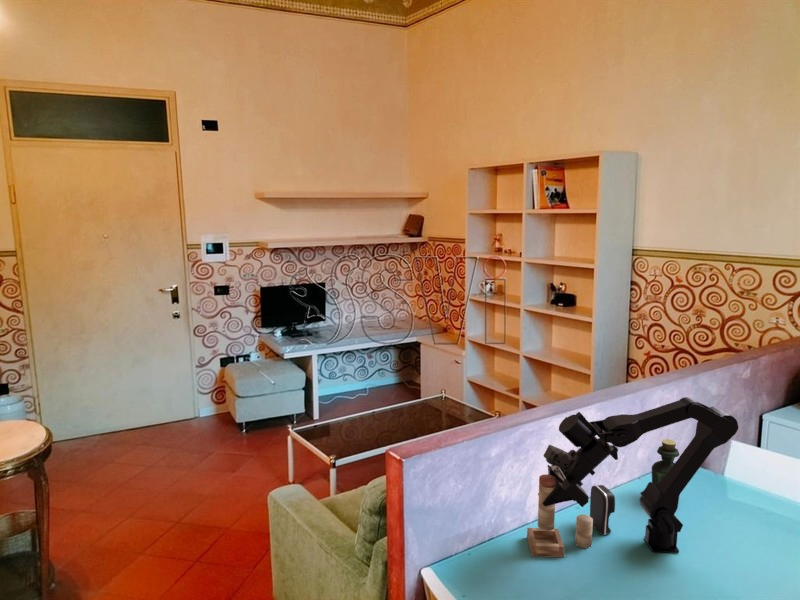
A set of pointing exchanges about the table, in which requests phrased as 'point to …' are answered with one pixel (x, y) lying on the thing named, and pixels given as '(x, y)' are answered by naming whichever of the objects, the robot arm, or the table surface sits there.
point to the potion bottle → (664, 460)
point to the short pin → (584, 531)
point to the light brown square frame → (545, 542)
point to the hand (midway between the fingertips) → (541, 500)
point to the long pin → (546, 512)
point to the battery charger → (601, 507)
